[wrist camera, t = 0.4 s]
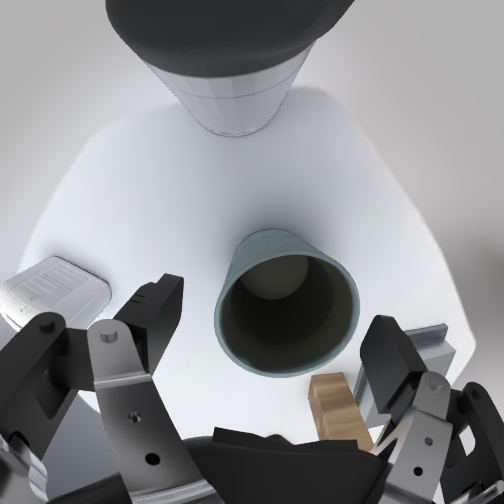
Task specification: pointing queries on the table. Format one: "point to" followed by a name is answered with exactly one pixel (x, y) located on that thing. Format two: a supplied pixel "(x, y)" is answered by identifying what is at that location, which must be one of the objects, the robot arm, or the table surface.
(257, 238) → the teal cup
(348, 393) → the oak pin
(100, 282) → the photo printer
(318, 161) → the table surface
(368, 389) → the metal socket
